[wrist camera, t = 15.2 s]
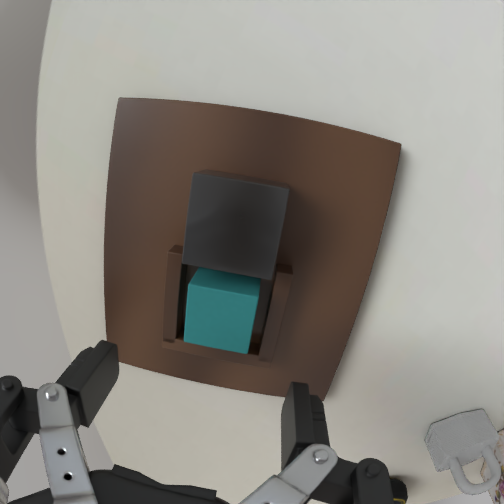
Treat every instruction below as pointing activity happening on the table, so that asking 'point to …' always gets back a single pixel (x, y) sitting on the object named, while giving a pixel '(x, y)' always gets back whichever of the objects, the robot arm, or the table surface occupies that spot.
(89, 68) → the table surface
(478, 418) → the padlock
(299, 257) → the back panel
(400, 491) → the tape measure
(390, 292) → the table surface
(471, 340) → the table surface
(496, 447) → the decorative jar
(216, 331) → the teal pad
